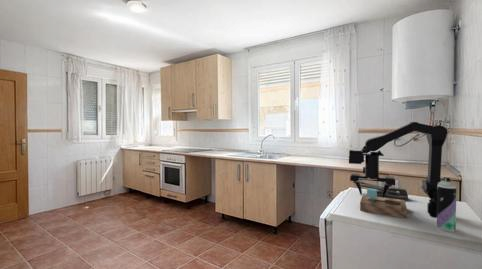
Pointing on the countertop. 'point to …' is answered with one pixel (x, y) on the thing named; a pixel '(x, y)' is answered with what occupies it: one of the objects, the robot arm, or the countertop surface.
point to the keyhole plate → (384, 206)
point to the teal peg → (372, 193)
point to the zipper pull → (388, 192)
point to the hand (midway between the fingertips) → (371, 196)
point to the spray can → (446, 205)
